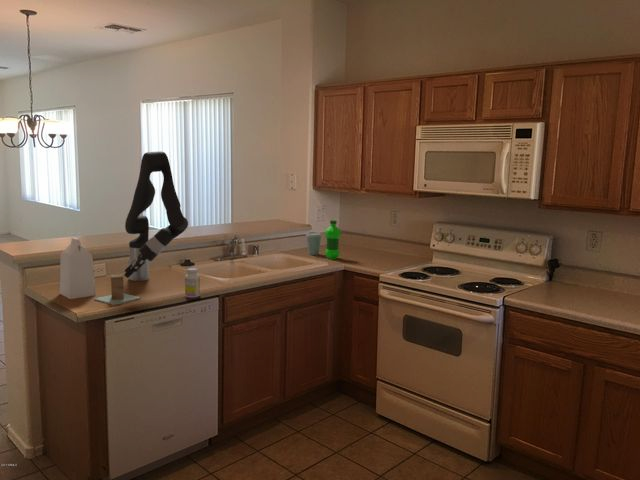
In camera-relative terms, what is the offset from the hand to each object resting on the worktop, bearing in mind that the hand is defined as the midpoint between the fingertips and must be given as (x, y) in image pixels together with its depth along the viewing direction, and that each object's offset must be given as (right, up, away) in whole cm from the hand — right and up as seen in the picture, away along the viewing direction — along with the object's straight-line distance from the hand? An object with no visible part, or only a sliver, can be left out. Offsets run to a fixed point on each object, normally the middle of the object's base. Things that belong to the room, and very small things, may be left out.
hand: (126, 274), depth 239 cm
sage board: (-4, -11, 0) cm, 12 cm away
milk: (-25, -10, +7) cm, 27 cm away
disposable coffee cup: (+82, +5, +127) cm, 151 cm away
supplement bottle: (+28, -11, +9) cm, 31 cm away
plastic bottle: (+95, +3, +114) cm, 148 cm away
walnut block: (-4, -11, 0) cm, 11 cm away
